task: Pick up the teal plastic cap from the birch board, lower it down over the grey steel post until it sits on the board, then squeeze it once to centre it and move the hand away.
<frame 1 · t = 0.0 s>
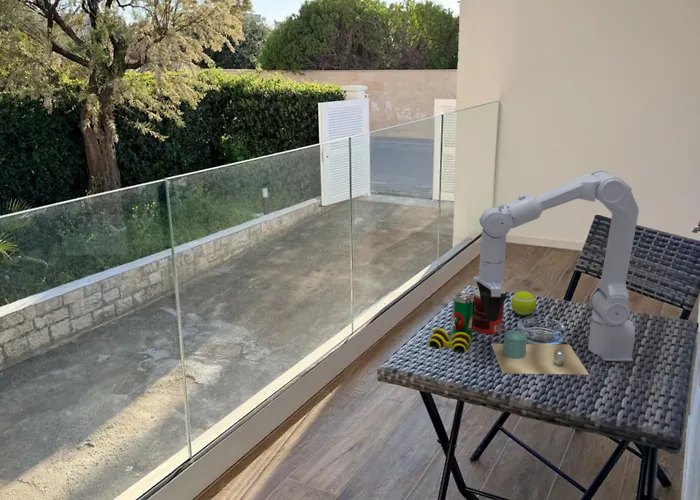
hand: (488, 314, 146), 10 cm above the table, tool pointing down, fingers open, 7 cm apart
teal cap: (514, 353, 145), point 1 cm above the table, touching birch board
opera glasses: (448, 351, 150), on the table
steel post: (557, 369, 140), resting on birch board
soda can: (461, 340, 156), on the table
tennis ball: (522, 314, 171), on the table
canned food: (486, 332, 160), on the table
birch board: (537, 362, 143), on the table
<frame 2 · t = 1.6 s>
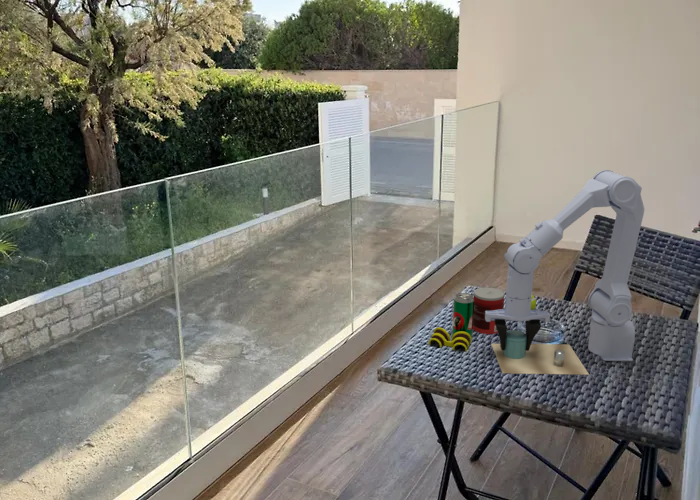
hand: (514, 348, 145), 3 cm above the table, tool pointing down, fingers closed on teal cap, 5 cm apart
teal cap: (514, 353, 145), point 1 cm above the table, touching birch board, gripper
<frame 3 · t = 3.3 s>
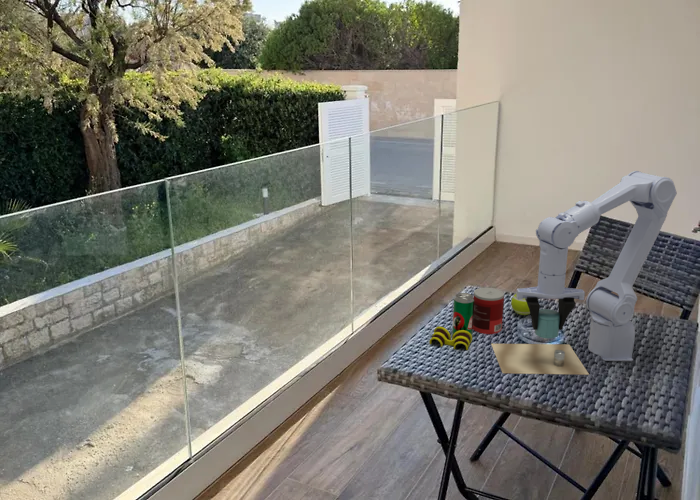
hand: (547, 328, 139), 10 cm above the table, tool pointing down, fingers closed on teal cap, 5 cm apart
teal cap: (546, 333, 140), point 8 cm above the table, touching gripper
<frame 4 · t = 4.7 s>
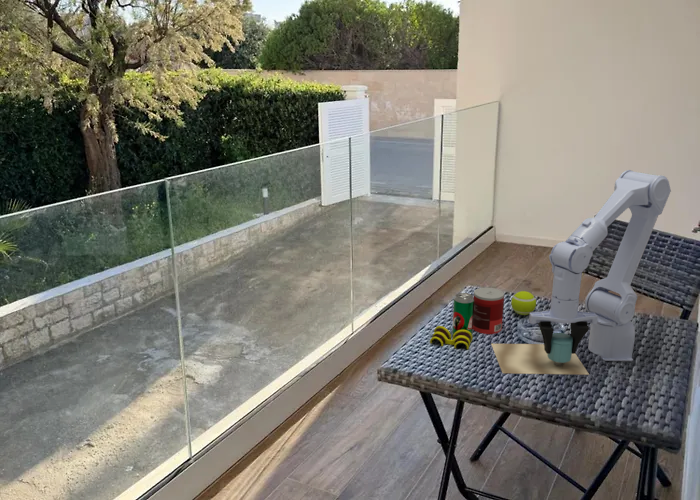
hand: (559, 351, 139), 4 cm above the table, tool pointing down, fingers closed on teal cap, 5 cm apart
teal cap: (559, 357, 139), point 3 cm above the table, touching gripper
when the fingers open (4 cm above the table, at t = 5.4 s): teal cap drops 1 cm, resting on birch board.
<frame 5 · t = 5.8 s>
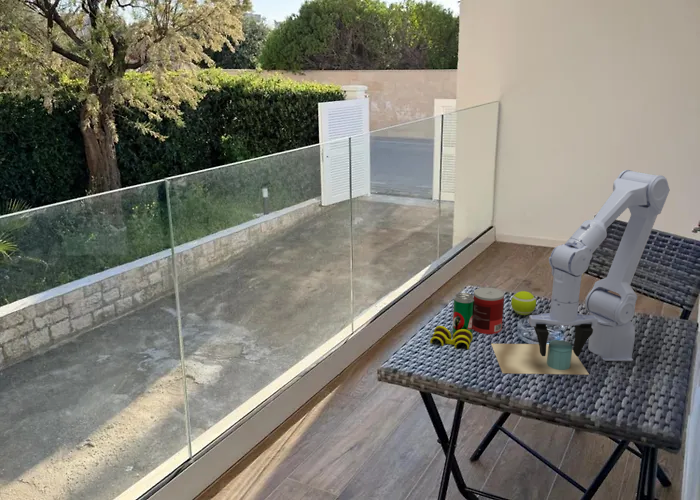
hand: (559, 354, 139), 4 cm above the table, tool pointing down, fingers open, 7 cm apart
teal cap: (558, 364, 140), point 1 cm above the table, touching birch board
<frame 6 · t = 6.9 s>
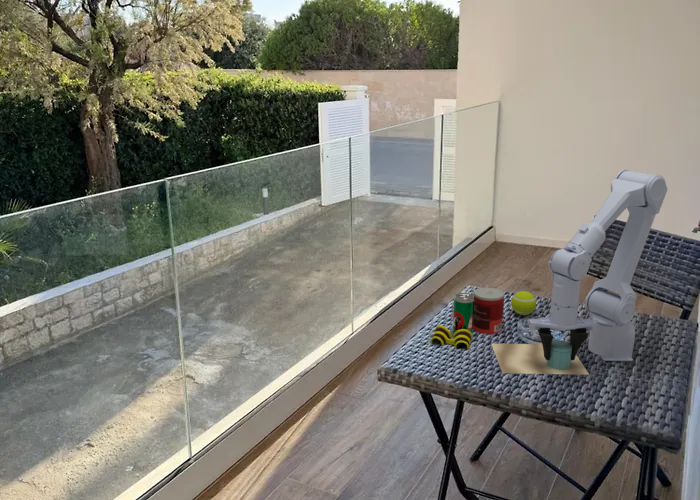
hand: (559, 358, 140), 3 cm above the table, tool pointing down, fingers closed on teal cap, 5 cm apart
teal cap: (558, 364, 140), point 1 cm above the table, touching birch board, gripper
when the fingers open (3 cm above the table, at t = 8.2 s): teal cap stays where it is, resting on birch board.
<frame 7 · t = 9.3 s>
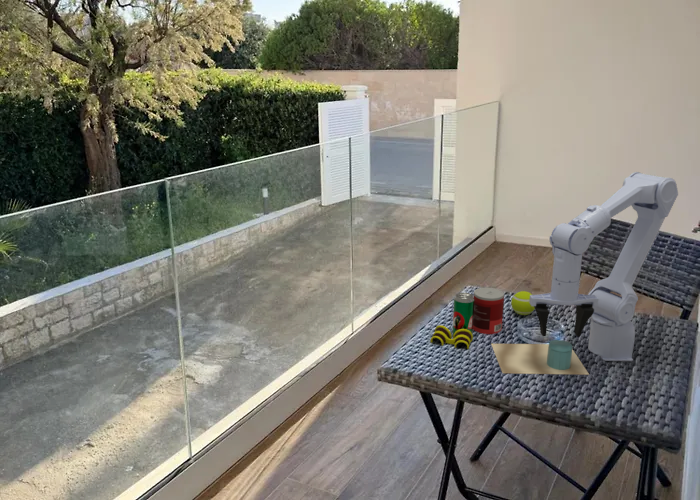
hand: (560, 334, 138), 8 cm above the table, tool pointing down, fingers open, 7 cm apart
teal cap: (558, 364, 140), point 1 cm above the table, touching birch board
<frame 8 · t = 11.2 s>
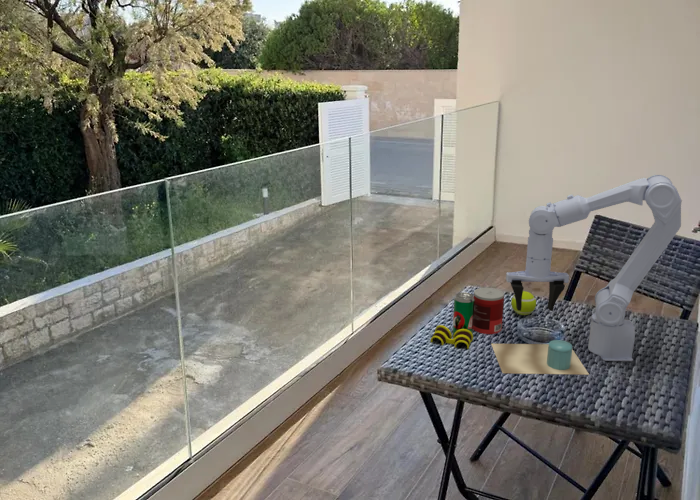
hand: (534, 309, 150), 9 cm above the table, tool pointing down, fingers open, 7 cm apart
at the end: teal cap 0.1 cm off-centre on the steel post, point 1.2 cm above the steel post's base; teal cap tilted 0°; the gripper is holding nothing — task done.
